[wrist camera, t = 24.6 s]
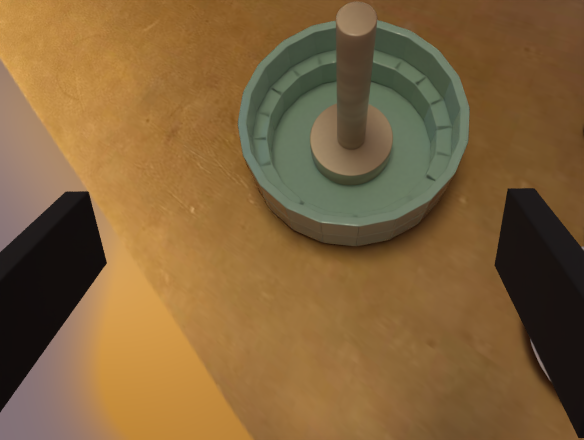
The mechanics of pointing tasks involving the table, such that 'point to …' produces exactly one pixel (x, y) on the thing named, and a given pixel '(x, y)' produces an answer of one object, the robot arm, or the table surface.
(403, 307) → the table surface
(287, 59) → the bowl
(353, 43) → the stick
